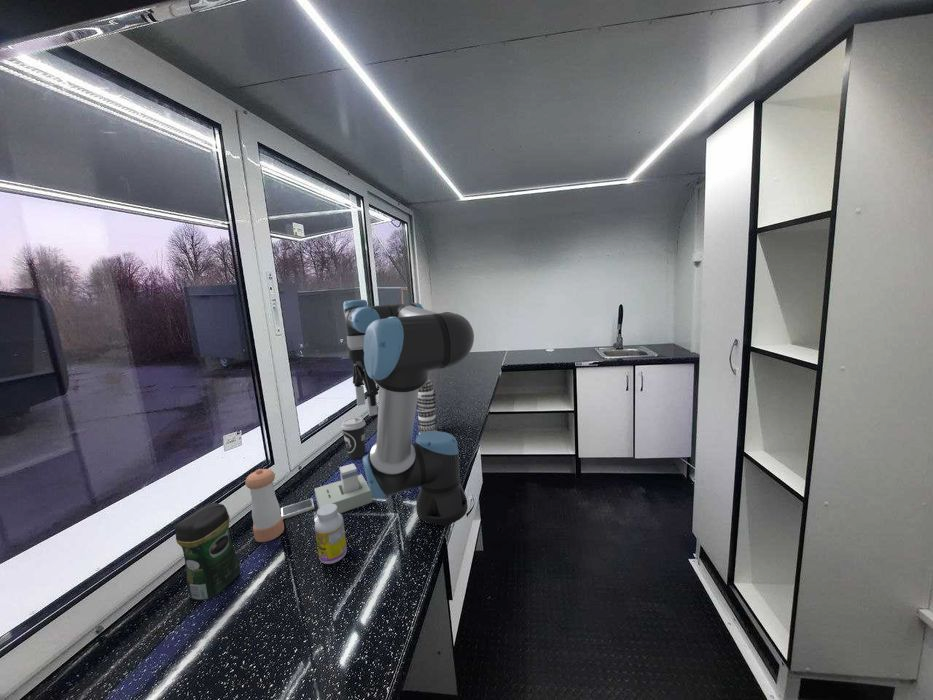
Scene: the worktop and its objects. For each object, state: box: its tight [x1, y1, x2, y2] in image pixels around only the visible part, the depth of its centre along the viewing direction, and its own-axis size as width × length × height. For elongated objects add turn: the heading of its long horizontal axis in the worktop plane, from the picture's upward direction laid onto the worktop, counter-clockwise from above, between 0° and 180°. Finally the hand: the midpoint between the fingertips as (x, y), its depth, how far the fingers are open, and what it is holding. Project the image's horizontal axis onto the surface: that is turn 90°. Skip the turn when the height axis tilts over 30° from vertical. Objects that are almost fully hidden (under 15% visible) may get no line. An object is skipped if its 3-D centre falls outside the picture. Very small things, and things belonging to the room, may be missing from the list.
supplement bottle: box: [314, 504, 348, 565], centre depth 87 cm, size 7×7×13 cm
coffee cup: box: [340, 416, 367, 460], centre depth 141 cm, size 10×10×15 cm
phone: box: [280, 497, 316, 520], centre depth 108 cm, size 5×9×1 cm, turn 120°
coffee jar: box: [174, 502, 241, 601], centre depth 79 cm, size 10×8×19 cm
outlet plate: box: [314, 473, 373, 514], centre depth 111 cm, size 15×12×4 cm
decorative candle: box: [416, 378, 438, 435], centre depth 159 cm, size 9×9×25 cm
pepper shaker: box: [245, 468, 285, 543], centre depth 96 cm, size 7×7×19 cm
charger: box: [339, 463, 359, 495], centre depth 111 cm, size 4×4×10 cm
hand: (367, 409), depth 118 cm, fingers open, 13 cm apart
